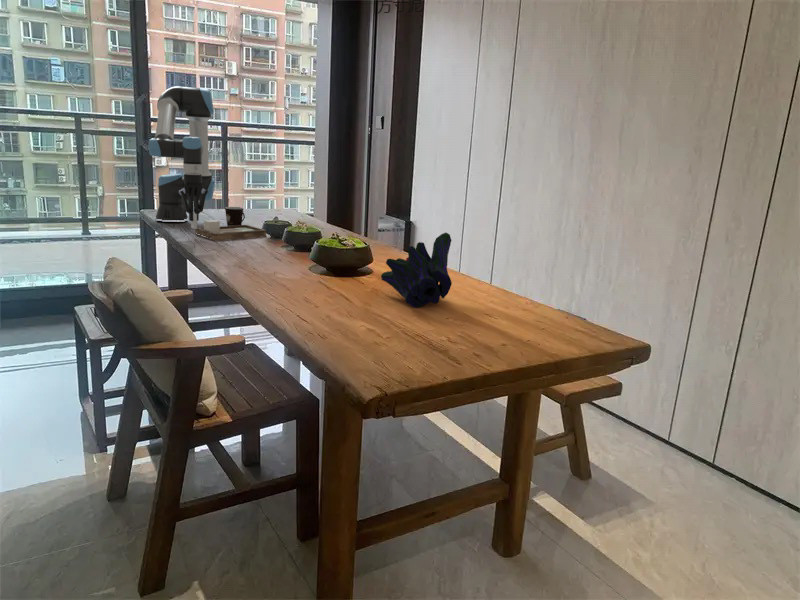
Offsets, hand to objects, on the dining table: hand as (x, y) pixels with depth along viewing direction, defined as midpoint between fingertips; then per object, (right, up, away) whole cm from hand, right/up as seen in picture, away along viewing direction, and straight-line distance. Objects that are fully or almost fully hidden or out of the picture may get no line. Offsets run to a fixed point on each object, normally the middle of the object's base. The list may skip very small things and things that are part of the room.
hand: (194, 228), depth 273 cm
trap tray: (+14, -2, +10) cm, 17 cm away
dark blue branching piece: (+96, -31, -76) cm, 126 cm away
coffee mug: (+10, +3, +28) cm, 30 cm away
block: (+6, -1, +5) cm, 8 cm away
